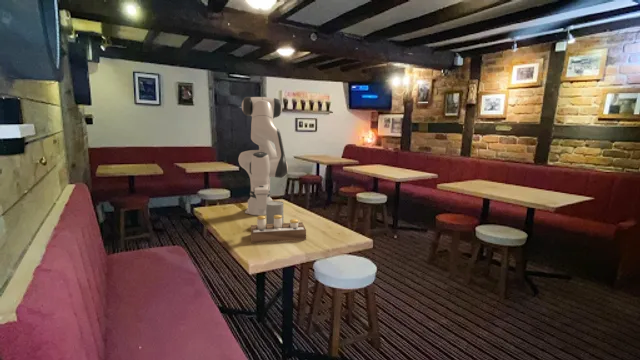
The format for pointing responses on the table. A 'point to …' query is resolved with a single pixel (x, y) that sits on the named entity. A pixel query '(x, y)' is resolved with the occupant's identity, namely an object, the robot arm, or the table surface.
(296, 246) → the table surface
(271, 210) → the grey concrete cylinder
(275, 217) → the middle button
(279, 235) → the button board
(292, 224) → the button
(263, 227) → the button
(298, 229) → the strip
